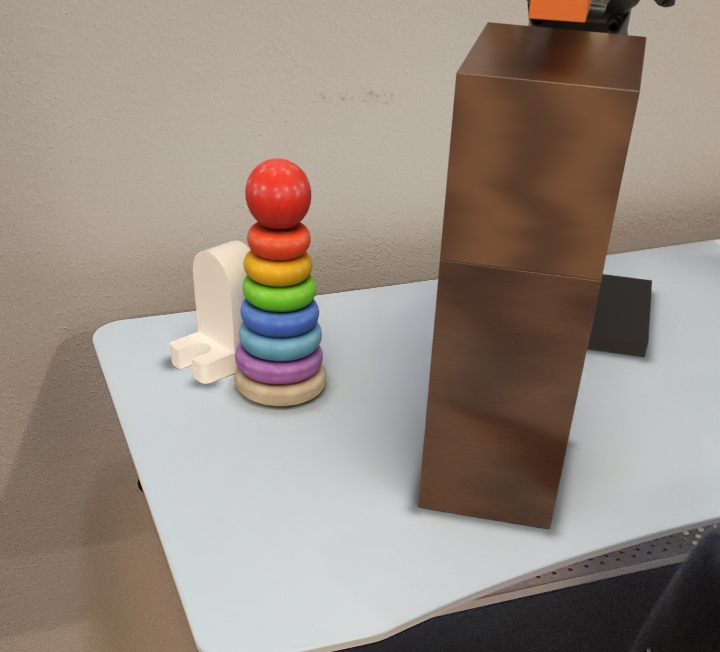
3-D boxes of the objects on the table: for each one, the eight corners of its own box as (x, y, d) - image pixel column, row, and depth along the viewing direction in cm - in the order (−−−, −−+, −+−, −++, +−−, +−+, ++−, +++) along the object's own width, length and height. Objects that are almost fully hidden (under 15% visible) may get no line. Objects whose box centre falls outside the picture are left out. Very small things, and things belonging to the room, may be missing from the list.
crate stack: (564, 443, 82) (646, 36, 62) (550, 529, 74) (640, 91, 53) (445, 425, 84) (487, 21, 63) (417, 507, 75) (456, 72, 55)
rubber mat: (648, 294, 103) (652, 280, 102) (644, 357, 93) (648, 342, 92) (552, 281, 105) (554, 267, 104) (538, 342, 95) (540, 327, 94)
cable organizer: (290, 349, 92) (288, 242, 85) (204, 385, 87) (195, 274, 80) (254, 329, 95) (249, 223, 88) (168, 362, 90) (156, 253, 83)
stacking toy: (332, 408, 85) (335, 180, 72) (238, 413, 84) (224, 182, 71) (319, 362, 91) (320, 143, 78) (231, 367, 90) (217, 145, 77)
